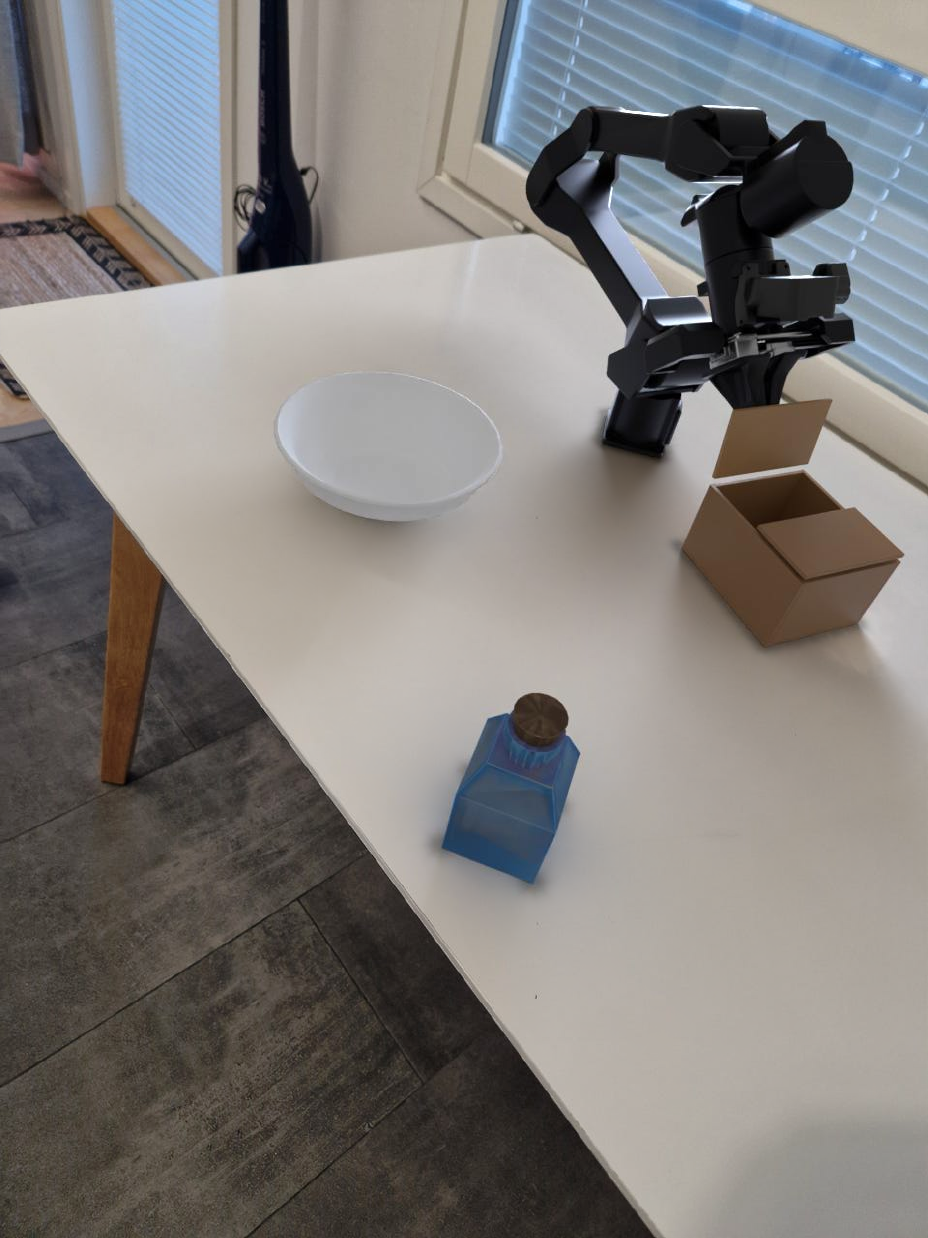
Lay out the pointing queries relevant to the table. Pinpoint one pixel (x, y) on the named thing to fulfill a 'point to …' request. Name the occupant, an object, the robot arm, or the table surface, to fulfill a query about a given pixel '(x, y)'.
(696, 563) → the carton
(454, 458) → the bowl
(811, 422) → the flap
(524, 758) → the perfume bottle
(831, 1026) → the table surface
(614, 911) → the table surface
